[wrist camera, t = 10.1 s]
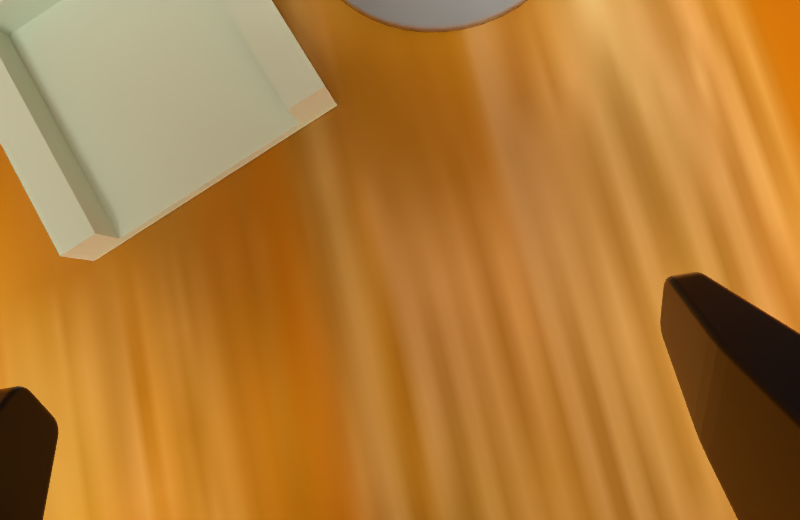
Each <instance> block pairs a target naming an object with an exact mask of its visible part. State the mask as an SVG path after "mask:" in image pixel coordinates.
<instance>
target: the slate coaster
mask: <svg viewBox="0 0 800 520" xmlns="http://www.w3.org/2000/svg"><path fill="white" fill-rule="evenodd" d="M342 1H343V2H345V3H346V4H347V5H349V6H350V7H351V8H353V9H354V10H356V11H357V12H359V13H361V14H363V15H364V16H366V17H368V18H370V19H372V20H375V21H377V22H380V23H382V24H385V25H388V26H392V27H396V28H400V29H404V30H410V31H419V32H447V31H454V30H461V29H466V28H470V27H474V26H477V25H481V24H484V23H486V22H489V21H491V20H494V19H496V18H499V17H501V16H503V15H505V14H507V13H508V12H510V11H512V10H514V9H516V8H517V7H519V6H520V5H522V4H523V3H524V2H526V1H527V0H342Z"/></svg>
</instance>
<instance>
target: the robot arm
mask: <svg viewBox="0 0 800 520" xmlns="http://www.w3.org/2000/svg"><path fill="white" fill-rule="evenodd" d="M660 324H661V332H662V336H663V339H664V342H665V345H666V348H667V350H668V353H669V356H670V359H671V362H672V365H673V367H674V370H675V373H676V376H677V379H678V382H679V384H680V387H681V390H682V393H683V396H684V399H685V401H686V404H687V407H688V410H689V413H690V416H691V418H692V421H693V424H694V427H695V429H696V432H697V435H698V437H699V440H700V442H701V444H702V447H703V449H704V451H705V453H706V455H707V458H708V460H709V462H710V464H711V466H712V468H713V470H714V472H715V474H716V476H717V478H718V480H719V482H720V484H721V486H722V488H723V490H724V492H725V494H726V496H727V498H728V500H729V502H730V504H731V506H732V508H733V510H734V512H735V514H736V516H737V518H738V520H800V333H798V332H796V331H795V330H793V329H791V328H790V327H788V326H787V325H785V324H783V323H782V322H780V321H779V320H777V319H775V318H774V317H772V316H770V315H769V314H767V313H766V312H764V311H762V310H761V309H759V308H758V307H756V306H754V305H753V304H751V303H749V302H748V301H746V300H745V299H743V298H741V297H740V296H738V295H736V294H735V293H733V292H732V291H730V290H728V289H727V288H725V287H724V286H722V285H720V284H719V283H717V282H715V281H714V280H712V279H711V278H709V277H707V276H706V275H704V274H702V273H699V272H693V273H687V274H681V275H675V276H671V277H669V278H667V279H666V281H665V283H664V289H663V299H662V309H661V319H660ZM57 439H58V426H57V422H56V420H55V418H54V417H53V416H52V415H51V414H50V412H49V411H48V410H47V409H46V408H45V407H44V406H43V405H42V404H41V403H40V401H39V400H38V399H37V398H36V397H35V396H34V395H33V394H32V393H31V392H30V391H29V390H28V389H26V388H24V387H19V386H17V387H11V388H5V389H0V520H43V516H44V510H45V505H46V499H47V494H48V488H49V483H50V477H51V472H52V466H53V461H54V455H55V450H56V444H57Z"/></svg>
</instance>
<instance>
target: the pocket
mask: <svg viewBox="0 0 800 520" xmlns="http://www.w3.org/2000/svg"><path fill="white" fill-rule="evenodd" d="M336 106H337V104H336V103H335V101H334V99H333V98H332V96H331V95H330V93H329V91H328V90H327V88H326V87H325V85H324V83H323V82H322V80H321V78H320V77H319V75H318V74H317V72H316V70H315V69H314V67H313V66H312V64H311V62H310V61H309V59H308V58H307V56H306V54H305V53H304V51H303V50H302V48H301V46H300V45H299V43H298V42H297V40H296V38H295V37H294V35H293V34H292V32H291V30H290V29H289V27H288V26H287V24H286V22H285V21H284V19H283V17H282V16H281V14H280V13H279V11H278V9H277V8H276V6H275V5H274V3H273V1H272V0H0V144H1V146H2V147H3V149H4V151H5V153H6V155H7V157H8V159H9V161H10V163H11V164H12V166H13V168H14V170H15V172H16V174H17V176H18V178H19V180H20V181H21V183H22V185H23V187H24V189H25V191H26V193H27V195H28V197H29V198H30V200H31V202H32V204H33V206H34V208H35V210H36V212H37V214H38V216H39V217H40V219H41V221H42V223H43V225H44V227H45V229H46V231H47V233H48V234H49V236H50V238H51V240H52V242H53V244H54V246H55V248H56V250H57V251H58V253H59V255H60V256H62V257H69V258H76V259H83V260H90V261H95V260H97V259H98V258H100V257H102V256H103V255H105V254H106V253H108V252H109V251H111V250H113V249H114V248H116V247H117V246H119V245H120V244H122V243H123V242H125V241H127V240H128V239H130V238H131V237H133V236H134V235H136V234H137V233H139V232H141V231H142V230H144V229H145V228H147V227H148V226H150V225H152V224H153V223H155V222H156V221H158V220H159V219H161V218H162V217H164V216H166V215H167V214H169V213H170V212H172V211H173V210H175V209H177V208H178V207H180V206H181V205H183V204H184V203H186V202H187V201H189V200H191V199H192V198H194V197H195V196H197V195H198V194H200V193H201V192H203V191H205V190H206V189H208V188H209V187H211V186H212V185H214V184H216V183H217V182H219V181H220V180H222V179H223V178H225V177H226V176H228V175H230V174H231V173H233V172H234V171H236V170H237V169H239V168H241V167H242V166H244V165H245V164H247V163H248V162H250V161H251V160H253V159H255V158H256V157H258V156H259V155H261V154H262V153H264V152H265V151H267V150H269V149H270V148H272V147H273V146H275V145H276V144H278V143H280V142H281V141H283V140H284V139H286V138H287V137H289V136H290V135H292V134H294V133H295V132H297V131H298V130H300V129H301V128H303V127H305V126H306V125H308V124H309V123H311V122H312V121H314V120H315V119H317V118H319V117H320V116H322V115H323V114H325V113H326V112H328V111H329V110H331V109H333V108H334V107H336Z"/></svg>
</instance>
